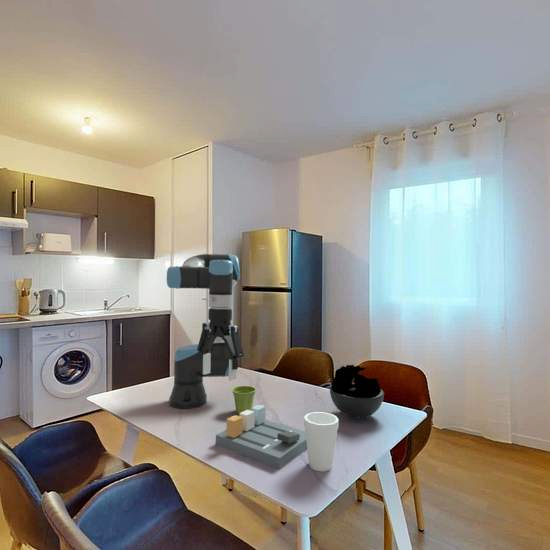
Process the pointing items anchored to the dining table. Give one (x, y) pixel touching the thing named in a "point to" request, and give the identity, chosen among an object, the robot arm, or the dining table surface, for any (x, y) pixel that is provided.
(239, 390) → the plant pot
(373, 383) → the bowl of black rocks
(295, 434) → the block
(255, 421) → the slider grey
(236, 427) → the slider orange
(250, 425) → the slider cream
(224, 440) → the panel
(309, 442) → the foam cup
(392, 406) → the dining table surface
